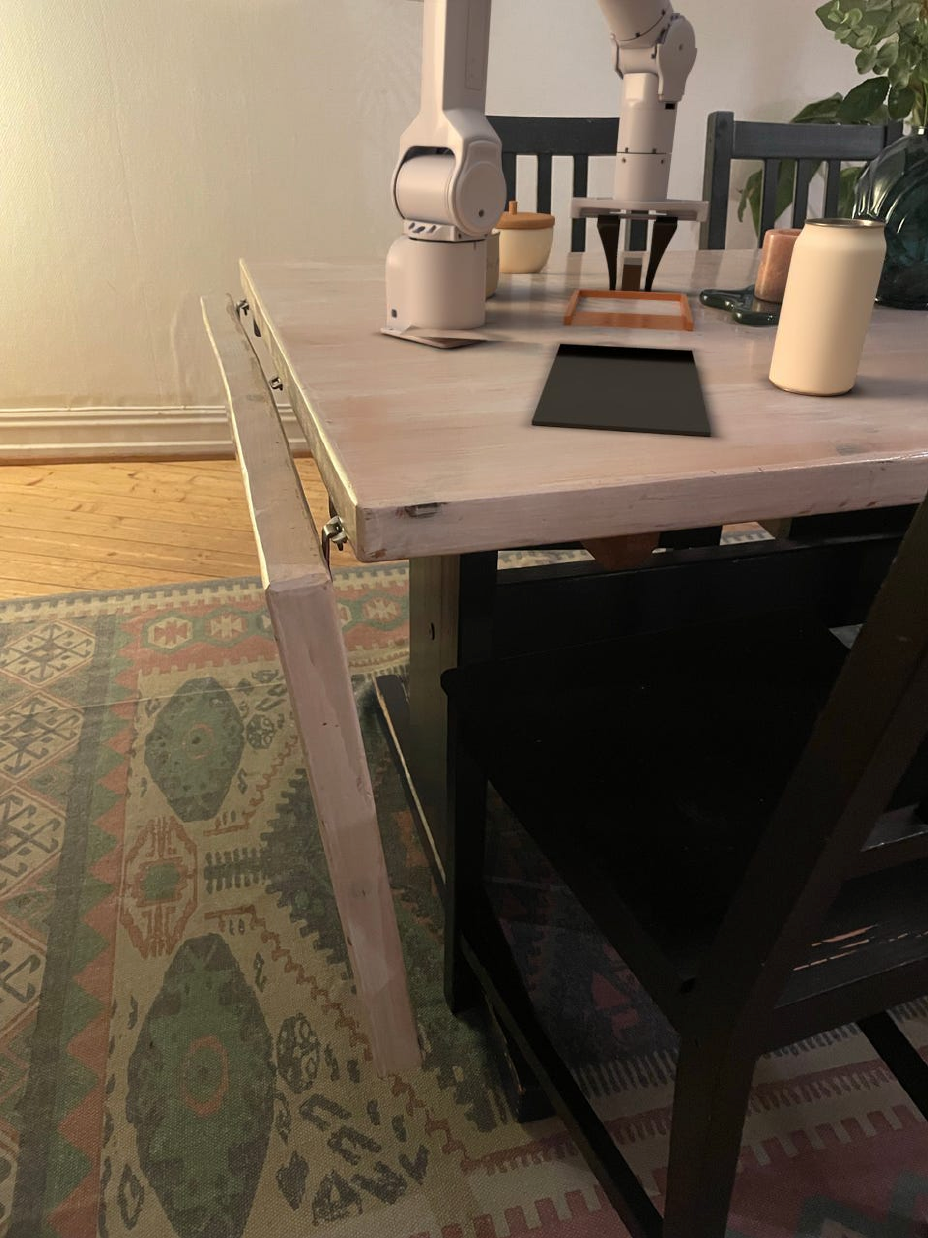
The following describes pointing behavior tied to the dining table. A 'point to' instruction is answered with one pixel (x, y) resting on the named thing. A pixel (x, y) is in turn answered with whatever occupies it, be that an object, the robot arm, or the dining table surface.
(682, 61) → the robot arm
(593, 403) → the mat
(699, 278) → the dining table surface
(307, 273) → the dining table surface
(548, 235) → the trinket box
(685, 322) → the dustpan
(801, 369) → the can
